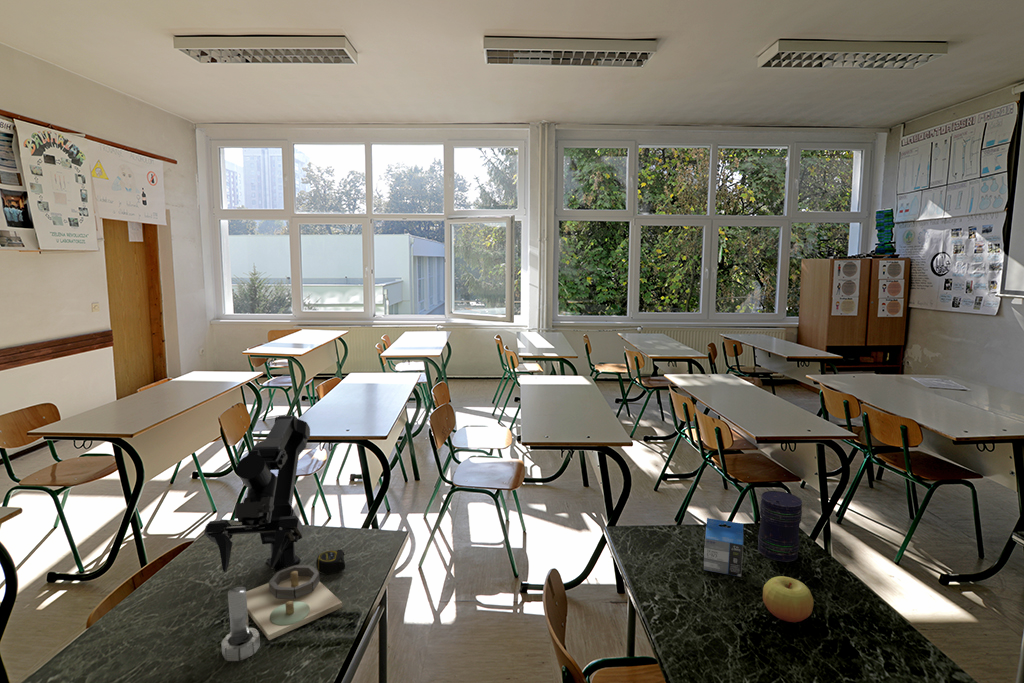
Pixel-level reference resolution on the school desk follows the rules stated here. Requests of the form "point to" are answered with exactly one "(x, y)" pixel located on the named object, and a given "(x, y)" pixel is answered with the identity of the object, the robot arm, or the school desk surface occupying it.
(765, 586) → the apple
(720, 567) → the label tape box
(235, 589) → the gear
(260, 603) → the gear board
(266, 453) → the robot arm
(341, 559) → the tape measure
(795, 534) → the storage jar
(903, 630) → the school desk surface
